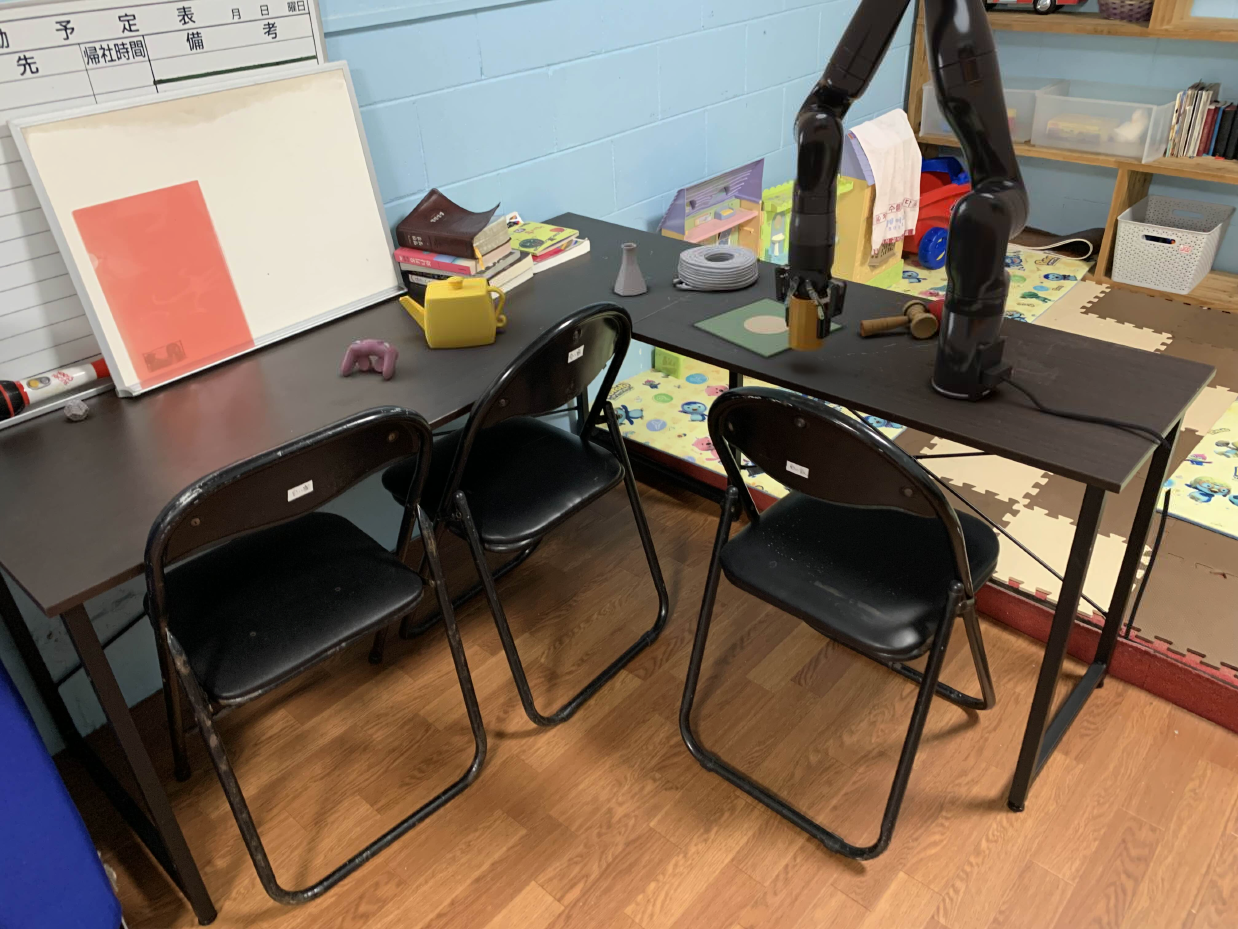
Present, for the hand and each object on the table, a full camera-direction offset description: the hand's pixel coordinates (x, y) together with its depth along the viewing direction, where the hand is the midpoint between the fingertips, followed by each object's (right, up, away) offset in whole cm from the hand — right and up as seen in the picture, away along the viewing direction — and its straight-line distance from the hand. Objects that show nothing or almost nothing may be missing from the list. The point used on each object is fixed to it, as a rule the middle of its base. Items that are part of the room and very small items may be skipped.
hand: (807, 331), depth 159 cm
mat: (-4, +4, +20) cm, 21 cm away
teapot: (-64, +2, +23) cm, 68 cm away
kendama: (+22, +2, +15) cm, 26 cm away
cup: (0, -2, +1) cm, 2 cm away
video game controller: (-78, -6, +10) cm, 78 cm away
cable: (-11, +18, +44) cm, 48 cm away
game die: (-125, -15, -1) cm, 126 cm away
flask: (-30, +14, +40) cm, 52 cm away
